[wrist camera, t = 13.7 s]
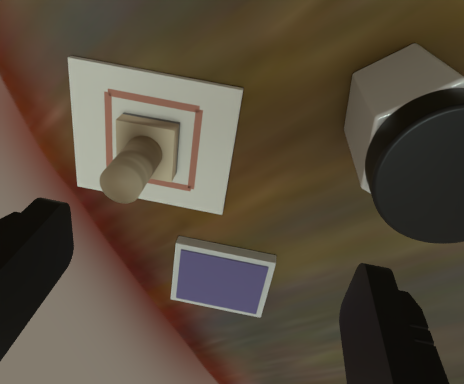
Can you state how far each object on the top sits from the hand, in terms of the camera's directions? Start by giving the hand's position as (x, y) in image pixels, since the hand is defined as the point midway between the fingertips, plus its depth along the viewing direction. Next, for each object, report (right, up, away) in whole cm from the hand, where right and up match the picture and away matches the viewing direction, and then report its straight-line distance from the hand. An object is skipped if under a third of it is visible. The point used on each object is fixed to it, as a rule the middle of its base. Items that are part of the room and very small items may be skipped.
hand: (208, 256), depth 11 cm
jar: (+14, +9, +19) cm, 25 cm away
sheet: (-6, +6, +23) cm, 25 cm away
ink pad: (0, -7, +30) cm, 31 cm away
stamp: (-6, +6, +23) cm, 24 cm away
